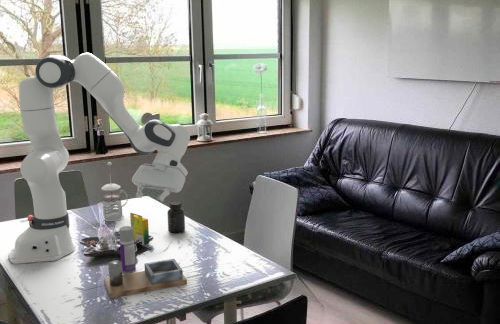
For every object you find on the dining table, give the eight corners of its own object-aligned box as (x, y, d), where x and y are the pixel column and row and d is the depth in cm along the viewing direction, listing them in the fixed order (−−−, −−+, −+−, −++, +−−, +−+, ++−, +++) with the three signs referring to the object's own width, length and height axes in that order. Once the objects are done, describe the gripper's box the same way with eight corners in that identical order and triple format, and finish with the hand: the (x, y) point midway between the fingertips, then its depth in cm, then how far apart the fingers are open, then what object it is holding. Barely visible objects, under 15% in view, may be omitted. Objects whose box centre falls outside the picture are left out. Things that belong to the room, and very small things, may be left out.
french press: (103, 214, 238) (99, 159, 233) (129, 213, 240) (126, 159, 234) (99, 221, 229) (95, 165, 223) (127, 220, 230) (123, 164, 224)
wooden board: (110, 298, 161) (109, 284, 160) (104, 282, 171) (103, 269, 170) (186, 283, 170) (186, 270, 169) (176, 269, 181) (176, 257, 180)
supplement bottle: (188, 232, 216) (187, 203, 213) (172, 235, 212) (171, 206, 209) (180, 227, 221) (179, 199, 219) (165, 230, 218) (164, 202, 215)
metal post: (111, 287, 164) (109, 266, 163) (109, 282, 168) (107, 261, 166) (124, 285, 166) (122, 264, 164) (121, 280, 169) (120, 259, 168)
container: (120, 268, 181) (117, 227, 178) (134, 266, 183) (131, 225, 180) (123, 274, 177) (120, 231, 174) (137, 271, 179) (134, 229, 176)
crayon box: (149, 243, 204) (148, 214, 201) (143, 245, 202) (142, 216, 199) (137, 239, 209) (135, 210, 206) (131, 241, 206) (129, 212, 204)
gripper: (138, 157, 195) (121, 190, 188) (184, 163, 185) (167, 197, 179) (146, 167, 199) (130, 199, 193) (191, 173, 190) (176, 207, 184)
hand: (148, 198), depth 186 cm, fingers open, 8 cm apart
